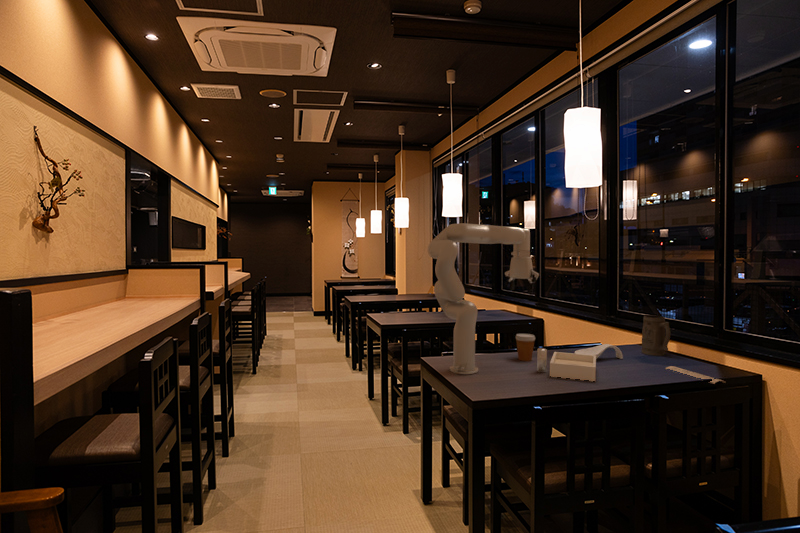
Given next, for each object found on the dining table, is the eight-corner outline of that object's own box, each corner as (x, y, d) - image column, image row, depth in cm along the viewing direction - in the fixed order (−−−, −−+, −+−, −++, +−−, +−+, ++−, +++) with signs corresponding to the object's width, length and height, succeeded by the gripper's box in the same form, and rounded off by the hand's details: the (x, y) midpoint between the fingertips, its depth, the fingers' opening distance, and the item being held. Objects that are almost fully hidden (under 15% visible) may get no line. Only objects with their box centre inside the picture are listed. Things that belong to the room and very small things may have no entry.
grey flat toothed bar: (665, 370, 210) (665, 366, 210) (677, 369, 212) (677, 365, 212) (714, 385, 187) (714, 381, 187) (727, 384, 189) (727, 379, 189)
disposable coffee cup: (537, 362, 221) (537, 337, 221) (517, 361, 222) (517, 337, 221) (532, 357, 231) (532, 333, 230) (513, 357, 231) (513, 333, 231)
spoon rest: (582, 363, 220) (583, 348, 220) (569, 357, 232) (570, 343, 231) (627, 361, 224) (627, 346, 224) (612, 355, 236) (612, 341, 235)
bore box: (595, 381, 190) (595, 367, 190) (549, 376, 197) (549, 362, 197) (595, 368, 210) (595, 355, 210) (554, 364, 217) (554, 351, 217)
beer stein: (635, 351, 242) (638, 314, 240) (649, 349, 247) (652, 313, 245) (662, 360, 229) (666, 321, 226) (676, 358, 233) (680, 319, 231)
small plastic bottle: (545, 373, 202) (546, 350, 202) (536, 372, 204) (536, 349, 203) (546, 370, 206) (547, 348, 205) (537, 369, 208) (538, 347, 207)
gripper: (501, 254, 221) (501, 290, 222) (535, 255, 209) (534, 292, 210) (509, 254, 226) (509, 288, 227) (542, 254, 215) (542, 291, 216)
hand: (521, 290), depth 219 cm, fingers open, 9 cm apart
